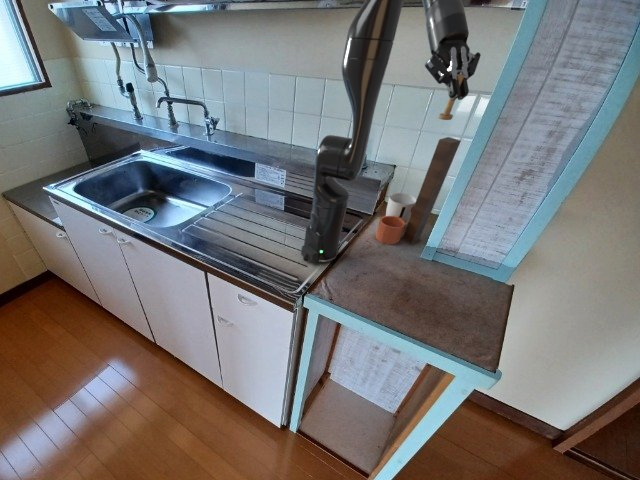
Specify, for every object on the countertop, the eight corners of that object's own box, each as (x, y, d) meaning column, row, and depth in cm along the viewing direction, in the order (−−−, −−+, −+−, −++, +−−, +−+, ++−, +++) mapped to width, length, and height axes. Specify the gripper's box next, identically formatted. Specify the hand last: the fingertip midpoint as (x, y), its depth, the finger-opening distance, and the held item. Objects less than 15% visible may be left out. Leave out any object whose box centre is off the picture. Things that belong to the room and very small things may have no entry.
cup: (392, 234, 106) (401, 206, 99) (375, 223, 111) (384, 195, 104) (411, 229, 108) (422, 201, 101) (394, 218, 113) (403, 191, 107)
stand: (411, 244, 102) (451, 143, 81) (402, 238, 104) (439, 139, 83) (419, 240, 103) (461, 140, 82) (409, 235, 105) (448, 136, 85)
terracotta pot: (387, 247, 101) (393, 230, 97) (370, 236, 106) (375, 219, 101) (404, 240, 103) (410, 223, 99) (386, 229, 108) (391, 213, 104)
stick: (446, 120, 78) (463, 76, 72) (435, 118, 80) (451, 74, 74) (454, 118, 79) (471, 74, 73) (443, 116, 81) (459, 73, 75)
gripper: (431, 12, 71) (446, 88, 70) (485, 10, 73) (499, 84, 72) (409, 40, 78) (422, 110, 78) (458, 38, 80) (471, 106, 80)
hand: (459, 97), depth 75 cm, fingers closed on stick, 1 cm apart
